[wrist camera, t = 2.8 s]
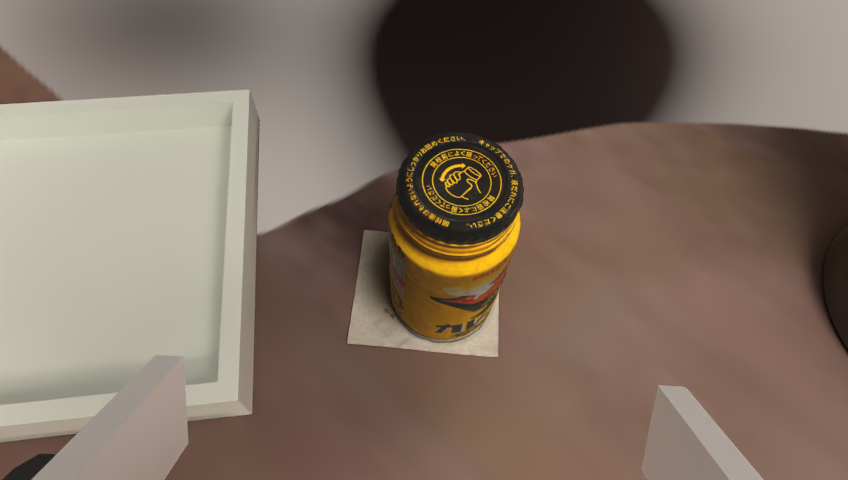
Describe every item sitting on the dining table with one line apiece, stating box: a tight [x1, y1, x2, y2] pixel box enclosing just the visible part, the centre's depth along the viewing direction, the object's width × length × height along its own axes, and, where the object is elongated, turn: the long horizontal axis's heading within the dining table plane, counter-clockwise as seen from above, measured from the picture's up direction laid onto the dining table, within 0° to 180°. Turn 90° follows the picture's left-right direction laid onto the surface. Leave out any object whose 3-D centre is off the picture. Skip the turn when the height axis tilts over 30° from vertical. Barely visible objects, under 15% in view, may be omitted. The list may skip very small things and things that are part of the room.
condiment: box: [347, 132, 524, 357], centre depth 28 cm, size 7×8×12 cm
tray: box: [0, 89, 259, 442], centre depth 32 cm, size 20×20×3 cm
